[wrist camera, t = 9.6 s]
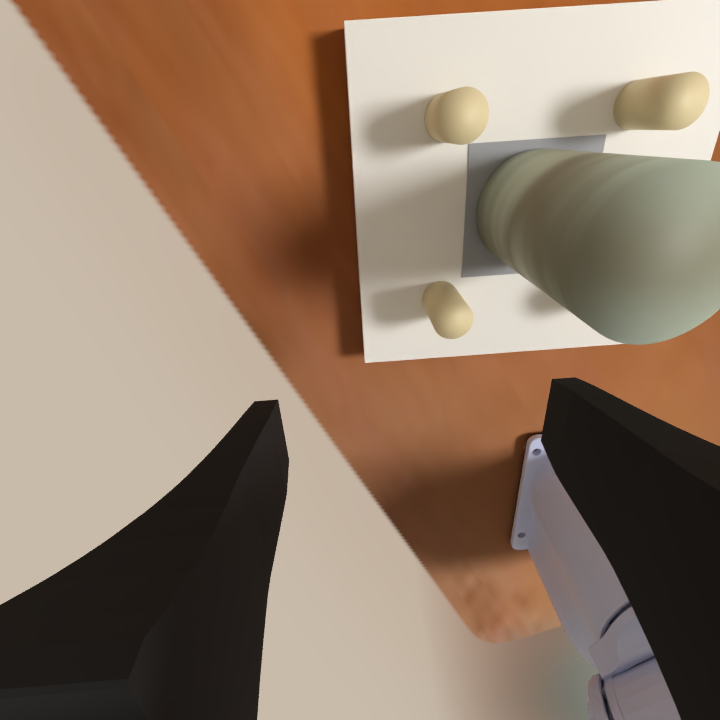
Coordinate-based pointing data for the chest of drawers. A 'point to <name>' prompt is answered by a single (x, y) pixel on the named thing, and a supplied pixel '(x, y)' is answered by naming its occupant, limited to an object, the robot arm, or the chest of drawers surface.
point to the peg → (610, 237)
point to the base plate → (502, 151)
